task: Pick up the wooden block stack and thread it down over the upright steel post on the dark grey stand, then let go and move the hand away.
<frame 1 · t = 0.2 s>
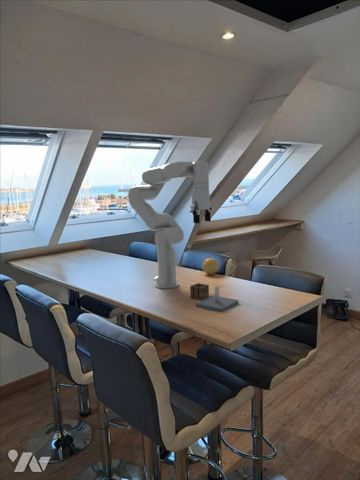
hand: (202, 222, 181), 36 cm above the table, tool pointing down, fingers open, 9 cm apart
wooden block stack: (199, 297, 178), on the table
stand: (217, 304, 167), on the table
stress ball: (210, 274, 224), on the table
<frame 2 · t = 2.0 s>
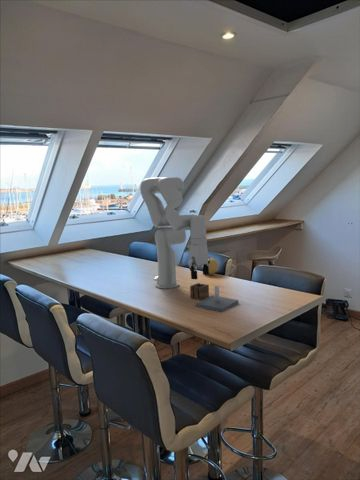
hand: (200, 276, 176), 10 cm above the table, tool pointing down, fingers open, 9 cm apart
nothing on the table moved.
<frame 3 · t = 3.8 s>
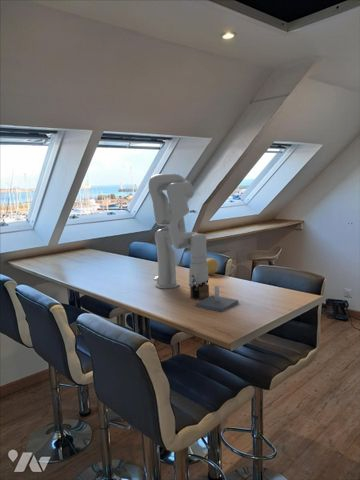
hand: (199, 295, 178), 1 cm above the table, tool pointing down, fingers closed on wooden block stack, 6 cm apart
wooden block stack: (199, 297, 178), on the table, touching gripper
everything else where it was.
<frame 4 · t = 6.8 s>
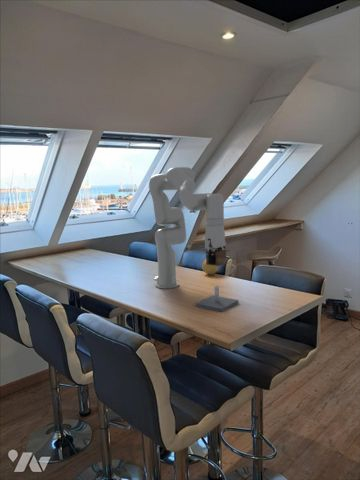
hand: (216, 262, 164), 20 cm above the table, tool pointing down, fingers closed on wooden block stack, 6 cm apart
wooden block stack: (216, 263, 164), point 19 cm above the table, touching gripper
everything else where it was.
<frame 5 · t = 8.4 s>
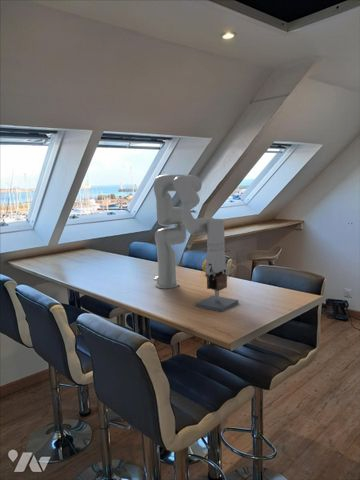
hand: (216, 286, 165), 9 cm above the table, tool pointing down, fingers closed on wooden block stack, 6 cm apart
wooden block stack: (217, 287, 165), point 8 cm above the table, touching gripper
everything else where it was.
when the fingers open (4 cm above the table, at t = 9.7 s): wooden block stack drops 2 cm, resting on stand.
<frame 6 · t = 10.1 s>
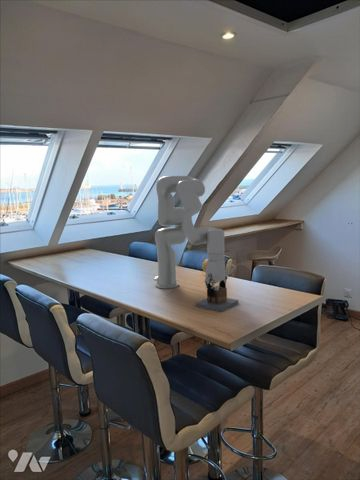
hand: (216, 294, 166), 5 cm above the table, tool pointing down, fingers open, 9 cm apart
wooden block stack: (217, 301, 166), point 1 cm above the table, touching stand
everything else where it was.
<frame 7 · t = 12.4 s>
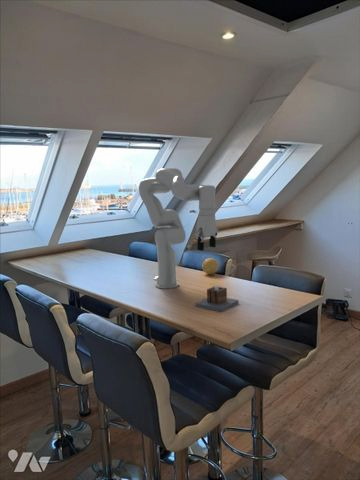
hand: (206, 248, 174), 24 cm above the table, tool pointing down, fingers open, 9 cm apart
nothing on the table moved.
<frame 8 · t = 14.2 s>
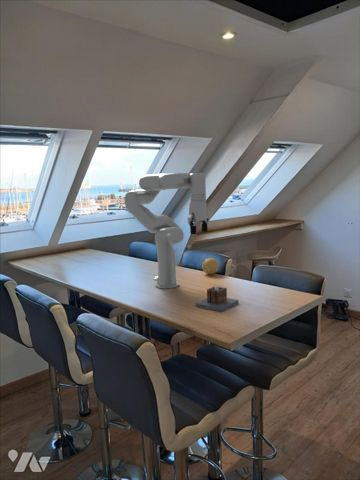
hand: (199, 232, 183), 30 cm above the table, tool pointing down, fingers open, 9 cm apart
nothing on the table moved.
at the end: wooden block stack 0.0 cm from the stand (horizontally); wooden block stack point 1.5 cm above the table; the gripper is holding nothing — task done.
